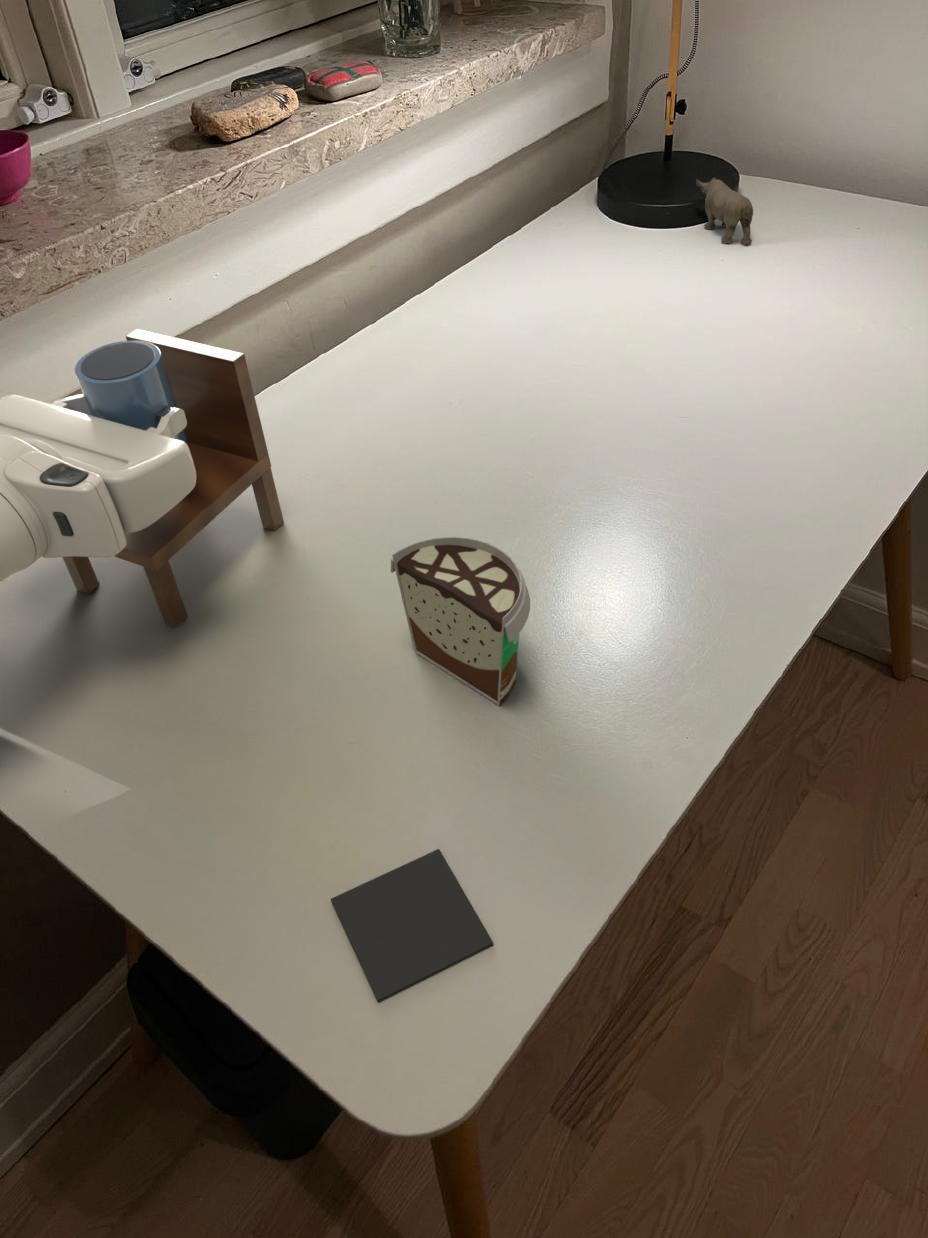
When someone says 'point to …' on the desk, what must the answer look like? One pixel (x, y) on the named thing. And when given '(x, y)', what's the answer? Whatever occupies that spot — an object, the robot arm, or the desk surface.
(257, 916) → the desk surface
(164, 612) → the miniature wooden chair
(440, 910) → the mat
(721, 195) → the rhino figurine
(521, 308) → the desk surface
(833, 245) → the desk surface
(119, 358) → the cup
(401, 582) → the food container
